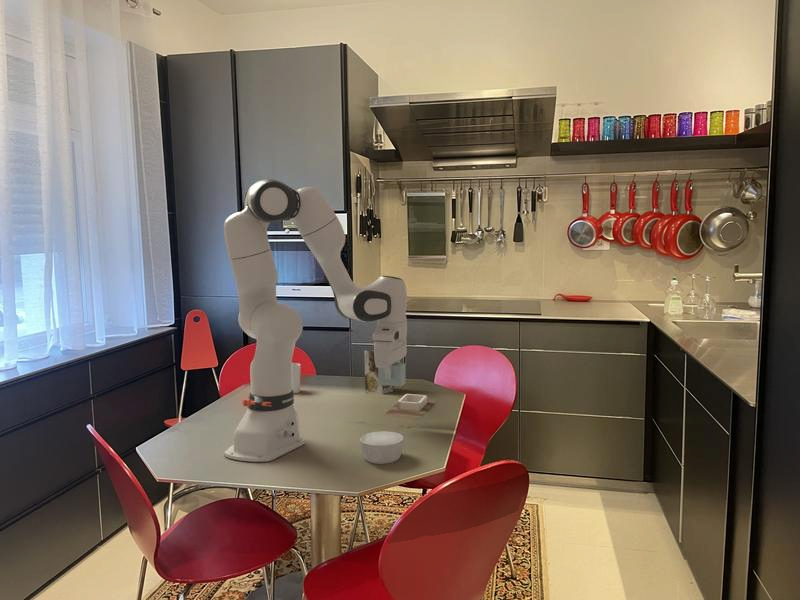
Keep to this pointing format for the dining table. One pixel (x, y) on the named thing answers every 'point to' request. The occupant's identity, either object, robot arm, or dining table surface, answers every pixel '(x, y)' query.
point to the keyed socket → (412, 402)
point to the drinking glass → (295, 377)
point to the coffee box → (373, 375)
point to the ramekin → (382, 446)
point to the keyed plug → (393, 375)
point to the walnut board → (409, 411)
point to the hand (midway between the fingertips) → (391, 376)
